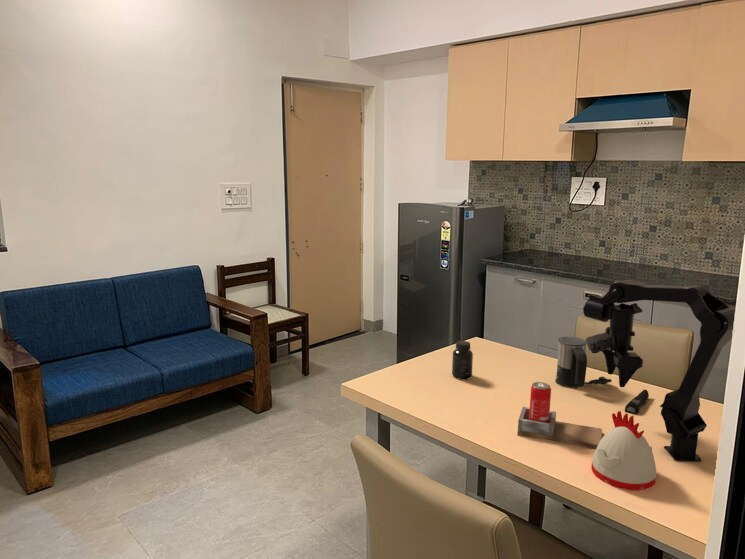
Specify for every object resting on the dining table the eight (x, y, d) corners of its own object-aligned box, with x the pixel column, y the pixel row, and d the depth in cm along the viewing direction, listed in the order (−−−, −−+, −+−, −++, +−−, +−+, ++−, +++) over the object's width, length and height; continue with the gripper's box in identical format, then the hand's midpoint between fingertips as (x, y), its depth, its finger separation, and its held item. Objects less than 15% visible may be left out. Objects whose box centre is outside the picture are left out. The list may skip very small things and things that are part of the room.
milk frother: (549, 379, 191) (551, 337, 188) (586, 373, 196) (590, 332, 193) (577, 395, 178) (581, 350, 175) (617, 389, 183) (621, 345, 180)
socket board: (601, 432, 154) (602, 418, 153) (601, 449, 145) (602, 434, 144) (522, 419, 161) (523, 405, 160) (517, 435, 152) (518, 420, 151)
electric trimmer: (651, 400, 176) (652, 390, 175) (636, 416, 164) (637, 406, 164) (638, 397, 178) (639, 387, 178) (623, 412, 167) (624, 402, 166)
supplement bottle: (448, 374, 195) (449, 341, 193) (464, 371, 198) (465, 338, 196) (459, 381, 189) (460, 347, 187) (476, 378, 192) (477, 344, 190)
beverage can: (530, 430, 152) (533, 389, 150) (527, 421, 157) (529, 381, 155) (550, 431, 152) (553, 389, 149) (546, 422, 157) (548, 381, 154)
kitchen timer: (618, 453, 143) (623, 398, 140) (668, 480, 131) (675, 420, 128) (578, 467, 136) (583, 409, 133) (628, 496, 125) (634, 434, 121)
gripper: (580, 316, 162) (576, 367, 166) (601, 335, 144) (596, 393, 147) (620, 316, 162) (615, 368, 165) (646, 337, 143) (640, 394, 147)
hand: (615, 380), depth 156 cm, fingers open, 9 cm apart
